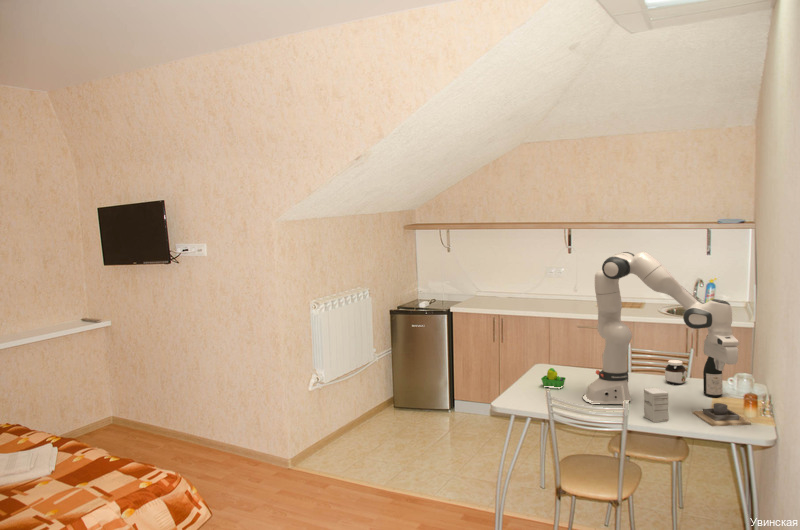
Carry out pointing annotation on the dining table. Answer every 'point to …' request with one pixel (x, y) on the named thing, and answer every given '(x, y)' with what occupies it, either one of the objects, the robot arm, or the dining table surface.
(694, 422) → the dining table surface
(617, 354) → the robot arm
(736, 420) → the holder board
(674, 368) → the spread jar
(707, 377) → the wine bottle
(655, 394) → the supplement box
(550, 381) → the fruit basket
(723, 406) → the dark grey cylinder
